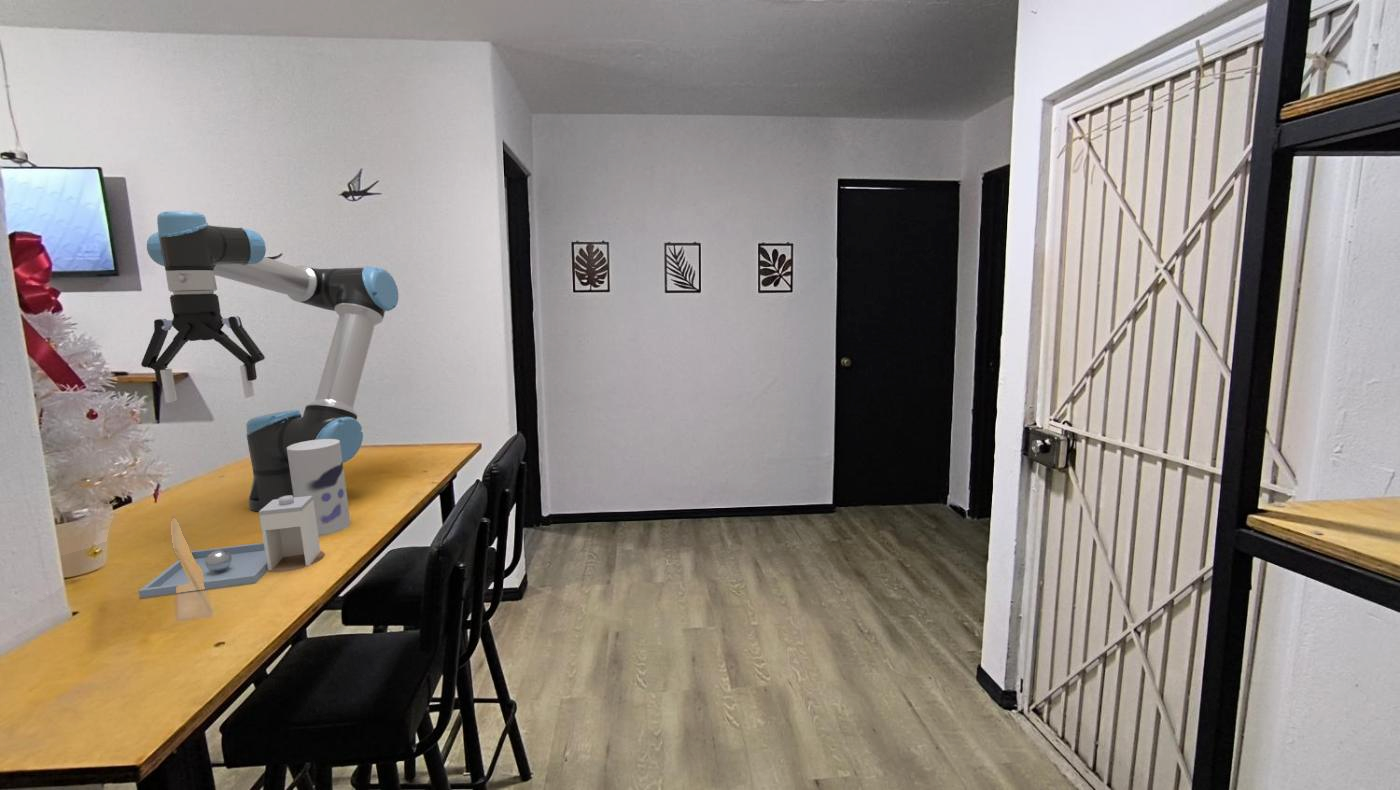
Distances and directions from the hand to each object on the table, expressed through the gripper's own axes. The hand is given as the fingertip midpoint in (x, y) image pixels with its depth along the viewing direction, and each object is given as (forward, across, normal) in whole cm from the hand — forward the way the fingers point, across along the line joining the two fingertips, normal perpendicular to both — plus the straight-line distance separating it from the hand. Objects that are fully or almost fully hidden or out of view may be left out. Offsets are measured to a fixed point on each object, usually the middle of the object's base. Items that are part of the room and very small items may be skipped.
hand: (211, 399), depth 128 cm
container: (+32, +16, +4) cm, 36 cm away
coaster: (+32, +16, -14) cm, 38 cm away
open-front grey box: (+31, +16, -14) cm, 38 cm away
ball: (+31, +3, -14) cm, 34 cm away
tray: (+32, +3, -14) cm, 35 cm away
